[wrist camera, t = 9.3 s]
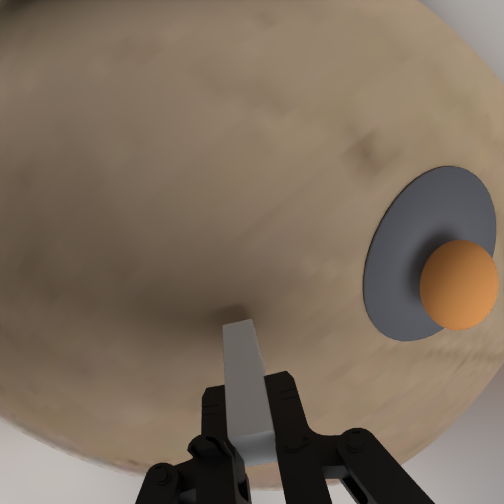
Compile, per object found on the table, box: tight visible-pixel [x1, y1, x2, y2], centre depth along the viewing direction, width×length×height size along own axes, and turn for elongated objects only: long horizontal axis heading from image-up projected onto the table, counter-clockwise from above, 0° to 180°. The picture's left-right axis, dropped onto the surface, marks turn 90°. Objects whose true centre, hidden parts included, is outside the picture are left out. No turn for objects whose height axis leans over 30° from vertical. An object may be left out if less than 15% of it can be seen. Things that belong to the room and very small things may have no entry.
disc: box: [363, 166, 496, 341], centre depth 16 cm, size 13×13×1 cm
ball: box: [420, 240, 499, 330], centre depth 14 cm, size 6×6×6 cm
